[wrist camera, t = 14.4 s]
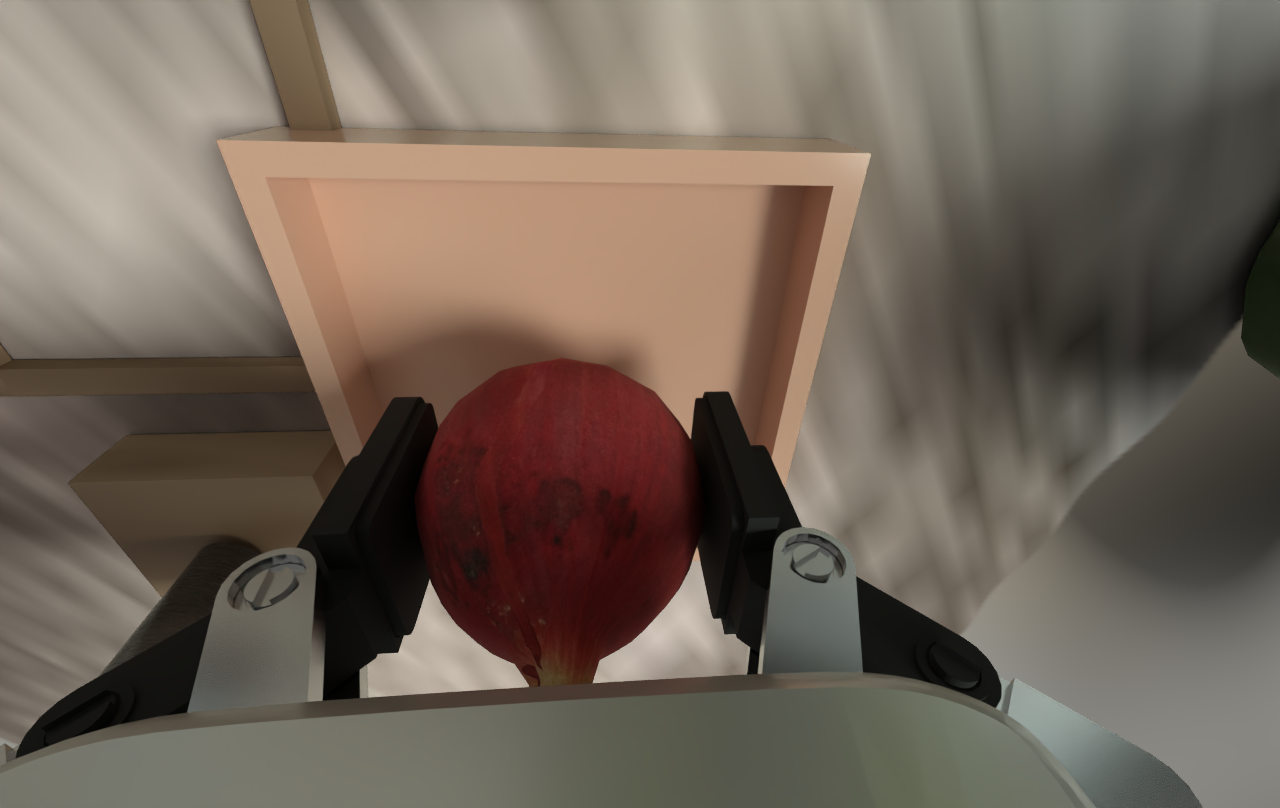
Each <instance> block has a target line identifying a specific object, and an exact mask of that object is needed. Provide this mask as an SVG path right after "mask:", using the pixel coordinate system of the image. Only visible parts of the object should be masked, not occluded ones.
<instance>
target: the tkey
mask: <svg viewBox="0 0 1280 808" xmlns="http://www.w3.org/2000/svg"><path fill="white" fill-rule="evenodd" d="M258 555H260V554H258V553H257V552H255V551H253V550H252V549H249V548H247V547H245V546H241V545H238V544H233V543H213V544H209V545H206V546H204V547H203V548H202V549H201V550H200V551H199V552H198V553H197V555H196V556H195V557H194V558H193V560H192V561H191V562H190V563H189V565H188V566H187V567H186V568H185V570H184V571H183V572H182V573H181V575H180V576H179V577H178V578H177V580H176V581H175V582H174V583H173V585H172V586H171V587H170V588H169V590H168V591H167V592H166V593H165V595H164V596H163V597H162V598H161V600H160V601H159V602H158V603H157V605H156V606H155V607H154V608H153V610H152V611H151V612H150V613H149V615H148V616H147V617H146V618H145V620H144V621H143V622H142V623H141V625H140V626H139V627H138V628H137V629H136V631H135V632H134V633H133V634H132V636H131V637H130V638H129V639H128V641H127V642H126V643H125V644H124V646H123V647H122V648H121V649H120V651H119V652H118V653H117V654H116V656H115V657H114V658H113V659H112V661H111V662H110V663H109V664H108V666H107V667H106V668H105V669H104V671H103V672H102V673H101V674H100V676H101V675H103V674H105V673H107V672H108V671H110V670H112V669H114V668H115V667H117V666H119V665H121V664H122V663H124V662H126V661H128V660H130V659H131V658H133V657H135V656H137V655H138V654H140V653H142V652H144V651H145V650H147V649H149V648H151V647H153V646H154V645H156V644H158V643H160V642H161V641H163V640H165V639H167V638H168V637H170V636H172V635H174V634H176V633H177V632H179V631H181V630H183V629H184V628H186V627H188V626H190V625H191V624H193V623H195V622H197V621H199V620H200V619H202V618H204V617H206V616H207V615H209V614H211V613H212V611H213V607H214V603H215V599H216V596H217V593H218V591H219V589H220V587H221V585H222V584H223V582H224V581H225V580H226V579H227V578H228V577H229V575H230V574H231V573H232V572H234V571H235V570H236V569H237V568H239V567H240V566H241V565H242V564H244V563H245V562H247V561H249V560H251V559H253V558H254V557H256V556H258Z"/></svg>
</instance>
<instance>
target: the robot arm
mask: <svg viewBox="0 0 1280 808" xmlns="http://www.w3.org/2000/svg"><path fill="white" fill-rule="evenodd" d="M437 431H438V424H437V420H436V416H435V412H434V408H433V405H432V404H431V403H425V401H424V400H423V398H422V397H395V398H393V399H392V400H391V402H390V404H389V405H388V407H387V409H386V410H385V412H384V414H383V415H382V417H381V419H380V420H379V422H378V424H377V425H376V427H375V429H374V430H373V432H372V434H371V436H370V437H369V439H368V441H367V442H366V444H365V446H364V447H363V449H362V451H361V452H360V454H359V455H357V456H355V457H352V459H351V460H350V461H349V462H348V464H347V465H346V467H345V469H344V470H343V472H342V474H341V475H340V477H339V478H338V480H337V482H336V483H335V485H334V487H333V488H332V490H331V492H330V493H329V495H328V496H327V498H326V500H325V501H324V503H323V505H322V506H321V508H320V510H319V511H318V513H317V514H316V516H315V518H314V519H313V521H312V523H311V524H310V526H309V528H308V529H307V531H306V533H305V534H304V536H303V537H302V539H301V541H300V542H299V544H298V546H297V547H296V548H281V549H276V550H272V551H269V552H266V553H263V554H261V555H258V556H256V557H254V558H253V559H251V560H249V561H247V562H245V563H244V564H242V565H241V566H240V567H239V568H237V569H236V570H235V571H234V572H232V573H231V574H230V575H229V577H228V578H227V579H226V580H225V581H224V582H223V584H222V585H221V587H220V589H219V591H218V593H217V596H216V599H215V603H214V607H213V611H212V613H211V614H209V615H207V616H206V617H204V618H202V619H200V620H199V621H197V622H195V623H193V624H191V625H190V626H188V627H186V628H184V629H183V630H181V631H179V632H177V633H176V634H174V635H172V636H170V637H168V638H167V639H165V640H163V641H161V642H160V643H158V644H156V645H154V646H153V647H151V648H149V649H147V650H145V651H144V652H142V653H140V654H138V655H137V656H135V657H133V658H131V659H130V660H128V661H126V662H124V663H122V664H121V665H119V666H117V667H115V668H114V669H112V670H110V671H108V672H107V673H105V674H103V675H101V676H99V677H98V678H96V679H94V680H92V681H91V682H89V683H87V684H85V685H84V686H82V687H80V688H78V689H77V690H75V691H74V692H72V693H71V694H69V695H68V696H66V697H65V698H63V699H61V700H60V701H58V702H57V703H56V704H55V705H54V706H53V707H51V708H50V709H49V710H48V711H47V712H46V713H45V714H43V715H42V716H41V717H40V718H39V719H38V720H37V722H36V723H35V724H34V725H33V726H32V727H31V729H30V730H29V731H28V732H27V733H26V735H25V736H24V738H23V740H22V742H21V744H20V745H18V746H17V747H15V748H13V749H12V748H11V747H9V746H8V745H6V744H3V745H1V746H0V808H1203V807H1202V805H1201V803H1200V802H1199V800H1198V799H1197V798H1196V796H1195V795H1194V793H1193V792H1192V790H1191V789H1190V787H1189V786H1188V785H1187V784H1186V783H1185V782H1184V781H1183V780H1182V779H1181V778H1180V777H1179V776H1178V775H1177V774H1176V773H1175V772H1174V771H1173V770H1172V769H1171V768H1170V767H1169V766H1167V765H1166V764H1164V763H1163V762H1162V761H1160V760H1159V759H1157V758H1156V757H1154V756H1153V755H1151V754H1150V753H1148V752H1146V751H1145V750H1143V749H1141V748H1139V747H1138V746H1136V745H1134V744H1132V743H1130V742H1129V741H1127V740H1125V739H1123V738H1121V737H1120V736H1118V735H1116V734H1114V733H1112V732H1111V731H1109V730H1107V729H1105V728H1103V727H1102V726H1100V725H1098V724H1096V723H1095V722H1093V721H1091V720H1089V719H1087V718H1086V717H1084V716H1082V715H1080V714H1079V713H1077V712H1075V711H1073V710H1071V709H1069V708H1068V707H1066V706H1064V705H1062V704H1060V703H1059V702H1057V701H1055V700H1054V699H1052V698H1050V697H1048V696H1046V695H1045V694H1043V693H1041V692H1039V691H1037V690H1036V689H1034V688H1032V687H1030V686H1029V685H1026V684H1025V683H1023V682H1021V681H1020V680H1018V679H1016V678H1014V679H1013V680H1012V681H1011V683H1009V682H1008V681H1006V680H1004V679H1002V678H1001V677H999V676H998V674H997V672H996V670H995V669H994V667H993V666H992V664H991V662H990V661H989V660H988V658H987V657H986V656H985V655H984V654H983V653H982V652H981V651H980V650H979V649H978V648H977V647H976V646H974V645H973V644H971V643H970V642H969V641H967V640H966V639H964V638H963V637H961V636H959V635H958V634H956V633H954V632H952V631H951V630H949V629H947V628H945V627H944V626H942V625H940V624H938V623H937V622H935V621H933V620H932V619H930V618H928V617H926V616H925V615H923V614H921V613H919V612H918V611H916V610H914V609H912V608H911V607H909V606H907V605H905V604H904V603H902V602H900V601H898V600H897V599H895V598H893V597H891V596H890V595H888V594H886V593H884V592H883V591H881V590H879V589H877V588H876V587H874V586H872V585H870V584H869V583H867V582H865V581H863V580H862V579H860V578H858V577H856V570H855V564H854V560H853V557H852V555H851V554H850V552H849V551H848V549H847V548H846V547H845V546H844V545H843V544H842V543H841V542H840V541H839V540H838V539H836V538H834V537H833V536H831V535H829V534H828V533H826V532H823V531H820V530H817V529H813V528H805V527H802V526H801V524H800V522H799V519H798V517H797V515H796V513H795V510H794V508H793V506H792V504H791V501H790V499H789V497H788V494H787V492H786V490H785V488H784V485H783V483H782V481H781V479H780V476H779V474H778V472H777V470H776V467H775V465H774V463H773V461H772V458H771V456H770V454H769V452H768V450H767V448H766V447H765V446H764V445H750V442H749V440H748V437H747V435H746V432H745V430H744V427H743V425H742V422H741V420H740V417H739V415H738V413H737V410H736V408H735V405H734V403H733V400H732V398H731V395H730V393H729V392H728V391H716V392H704V394H703V398H696V399H695V404H694V413H693V423H692V432H691V441H692V443H693V447H694V451H695V455H696V458H697V462H698V466H699V470H700V475H701V481H702V487H703V492H704V498H705V504H706V509H705V515H704V522H703V528H702V532H701V535H700V539H699V542H698V545H697V547H698V552H699V557H700V562H701V566H702V571H703V576H704V581H705V585H706V590H707V595H708V600H709V604H710V609H711V613H712V616H713V618H714V619H718V618H721V621H722V625H723V629H724V634H736V636H737V638H738V639H740V640H741V641H742V642H744V643H745V644H746V645H748V652H747V660H746V668H745V675H730V676H712V677H695V678H677V679H660V680H642V681H624V682H607V683H591V684H574V685H558V686H542V687H526V688H510V689H494V690H478V691H462V692H446V693H431V694H416V695H401V696H387V697H372V698H368V667H367V664H368V663H370V662H371V661H372V660H374V659H375V658H376V657H377V654H381V653H398V651H399V648H400V645H401V642H402V639H403V636H404V635H410V634H411V633H412V631H413V629H414V627H415V624H416V620H417V617H418V614H419V611H420V608H421V605H422V602H423V598H424V595H425V592H426V589H427V586H428V583H429V579H430V576H429V573H428V569H427V566H426V562H425V558H424V554H423V550H422V545H421V541H420V537H419V532H418V528H417V520H416V509H415V498H414V496H415V493H416V489H417V485H418V482H419V478H420V475H421V471H422V467H423V465H424V462H425V460H426V457H427V455H428V453H429V450H430V448H431V445H432V443H433V441H434V438H435V436H436V433H437Z"/></svg>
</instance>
